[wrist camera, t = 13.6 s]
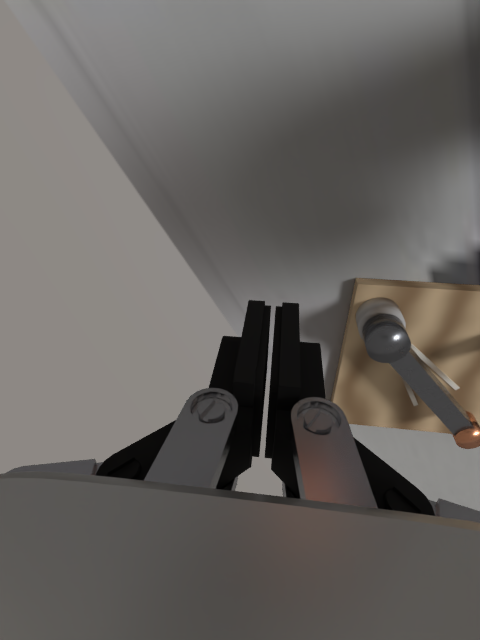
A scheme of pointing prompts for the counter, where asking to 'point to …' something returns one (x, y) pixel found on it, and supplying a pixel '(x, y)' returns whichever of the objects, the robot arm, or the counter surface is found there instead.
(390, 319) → the lever
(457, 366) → the base
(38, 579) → the robot arm
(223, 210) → the counter surface
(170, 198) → the counter surface
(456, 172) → the counter surface
